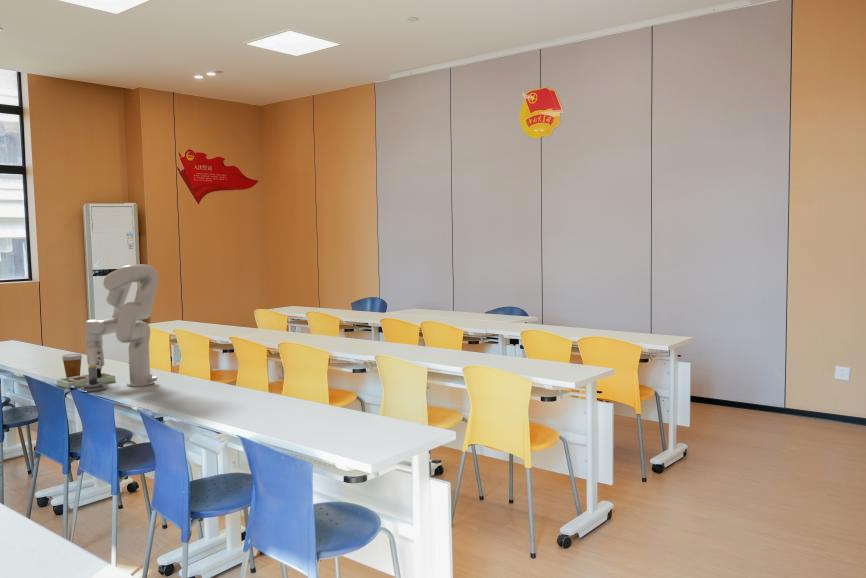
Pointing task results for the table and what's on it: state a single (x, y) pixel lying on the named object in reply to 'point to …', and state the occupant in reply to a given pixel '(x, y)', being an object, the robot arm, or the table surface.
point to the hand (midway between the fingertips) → (96, 379)
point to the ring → (82, 378)
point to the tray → (84, 381)
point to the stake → (93, 381)
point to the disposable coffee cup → (72, 364)
